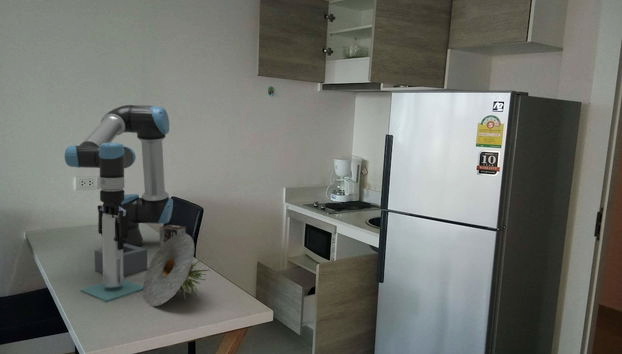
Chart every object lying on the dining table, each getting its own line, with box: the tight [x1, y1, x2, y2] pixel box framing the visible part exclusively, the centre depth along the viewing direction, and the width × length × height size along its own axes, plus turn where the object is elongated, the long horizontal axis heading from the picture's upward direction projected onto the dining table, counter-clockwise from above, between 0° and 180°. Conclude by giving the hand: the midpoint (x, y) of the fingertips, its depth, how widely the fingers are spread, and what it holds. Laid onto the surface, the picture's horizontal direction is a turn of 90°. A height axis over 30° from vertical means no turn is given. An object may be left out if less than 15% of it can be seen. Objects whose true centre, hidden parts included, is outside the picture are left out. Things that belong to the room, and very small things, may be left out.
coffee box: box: [159, 224, 188, 249], centre depth 186 cm, size 9×6×16 cm
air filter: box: [101, 213, 124, 288], centre depth 158 cm, size 6×6×25 cm
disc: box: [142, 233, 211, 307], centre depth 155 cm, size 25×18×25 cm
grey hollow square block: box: [94, 244, 148, 277], centre depth 179 cm, size 14×14×8 cm
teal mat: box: [80, 278, 143, 303], centre depth 159 cm, size 15×15×1 cm
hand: (113, 256), depth 158 cm, fingers closed on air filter, 6 cm apart
